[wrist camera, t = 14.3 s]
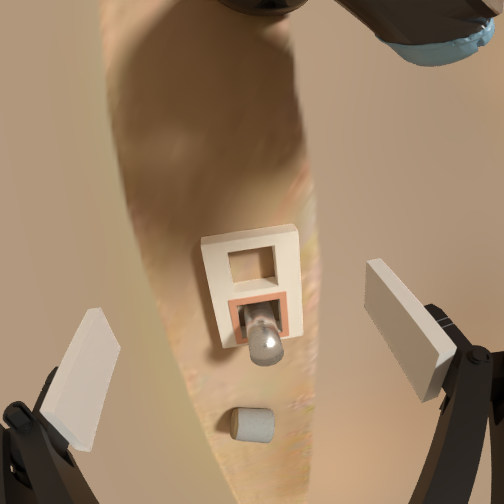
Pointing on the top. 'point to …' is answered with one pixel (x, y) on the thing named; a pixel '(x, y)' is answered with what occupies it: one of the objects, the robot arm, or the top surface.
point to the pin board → (258, 290)
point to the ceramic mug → (252, 425)
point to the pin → (262, 334)
